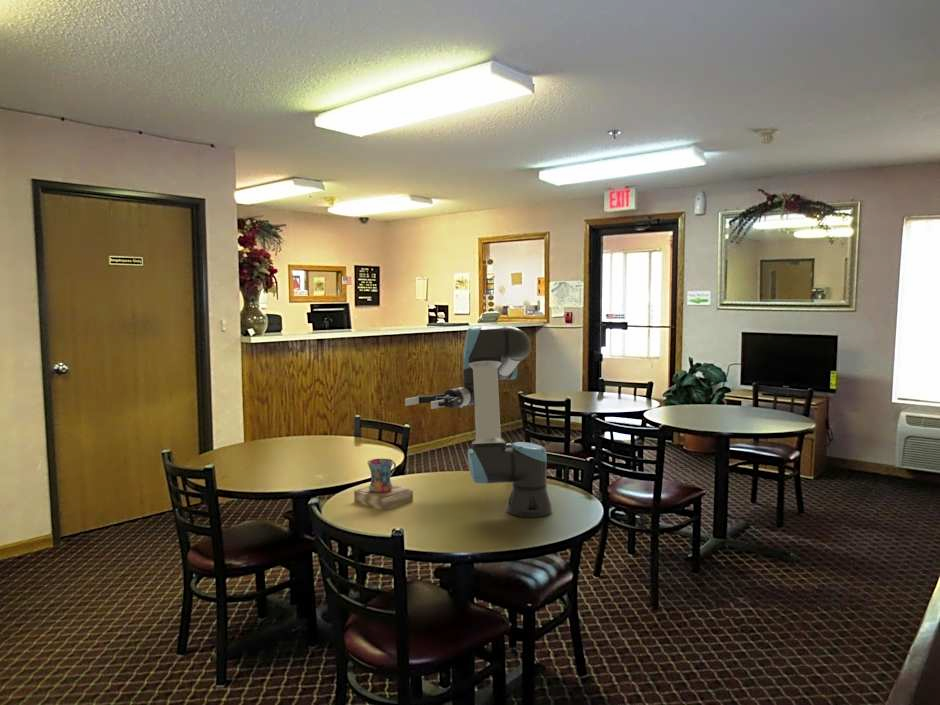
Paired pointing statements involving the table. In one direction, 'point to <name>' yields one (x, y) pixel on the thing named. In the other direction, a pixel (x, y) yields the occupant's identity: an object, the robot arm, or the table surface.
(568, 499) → the table surface
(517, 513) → the robot arm
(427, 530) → the table surface
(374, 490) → the mug
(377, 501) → the block
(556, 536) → the table surface
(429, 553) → the table surface
